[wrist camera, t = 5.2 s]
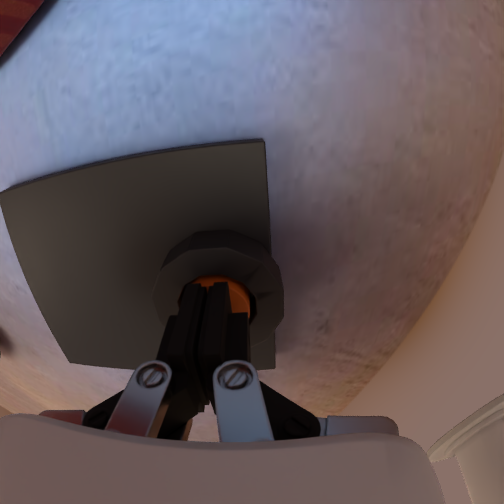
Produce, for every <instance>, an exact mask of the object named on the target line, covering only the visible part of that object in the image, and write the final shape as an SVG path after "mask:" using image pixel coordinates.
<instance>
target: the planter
mask: <svg viewBox="0 0 504 504" xmlns="http://www.w3.org/2000/svg"><path fill="white" fill-rule="evenodd" d="M44 1H45V0H0V57H1V55H2V54H3V53H4V51H5V50H6V49H7V48H8V46H9V45H10V44H11V43H12V41H13V40H14V39H15V38H16V37H17V35H18V34H19V33H20V32H21V30H22V29H23V28H24V26H25V25H26V24H27V22H28V21H29V20H30V19H31V17H32V16H33V15H34V14H35V13H36V11H37V10H38V9H39V8H40V6H41V5H42V4H43V2H44Z"/></svg>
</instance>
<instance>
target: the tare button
mask: <svg viewBox="0 0 504 504" xmlns="http://www.w3.org/2000/svg"><path fill="white" fill-rule="evenodd" d="M214 282H228V286H229V293H230V300H231V307H232V313H238V312H248V318H249V316H250V291H249V289H248V288H247V287H246V286H245V285H244V283H242V282H240V281H237V280H235V279H232V278H230V277H227V276H225V275H206V276H199V277H197V278H196V279H194V280H193V281H191V283H190V284H193V283H201V286H206V289H207V294H208V289H209V286H213V284H214Z"/></svg>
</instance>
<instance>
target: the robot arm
mask: <svg viewBox="0 0 504 504" xmlns="http://www.w3.org/2000/svg"><path fill="white" fill-rule="evenodd" d="M210 402H211V404H212V407H213V410H214V413H215V415H216V416H217V425H218V433H219V441H220V442H195V441H187V440H188V436H189V433H190V430H191V427H192V422H193V419H192V418H193V417H194V416H195V415H197V414H198V412H204V408H205V405H209V403H210ZM444 454H445V457H446V458H450V457H454V456H456V459H457V461H458V464H459V467H460V469H461V472H462V474H463V478H464V480H465V483H466V486H467V489H468V492H469V495H470V499H471V502H472V504H504V409H501V410H499V411H497V412H495V413H493V414H492V415H490V416H488V417H487V418H485V419H484V420H482V421H481V422H479V423H478V424H476V425H475V426H474V427H472V428H471V429H469V430H468V431H467V432H465V433H464V434H463V435H461V436H460V437H459V438H458V439H456V440H455V441H454V442H453V443H452V444H451V445H450V446H448V448H447V449H446V450H445V452H444ZM0 504H445V501H444V497H443V493H442V490H441V487H440V484H439V481H438V478H437V476H436V473H435V471H434V469H433V466H432V464H431V462H430V460H429V458H428V456H427V455H426V453H425V452H424V450H423V449H422V448H421V447H420V446H419V445H418V444H417V443H416V442H414V441H413V440H411V439H408V438H405V437H401V436H399V433H398V427H397V424H396V423H395V422H394V421H393V420H392V419H390V418H388V417H384V416H327V418H319V417H315V416H314V415H313V414H312V413H310V412H308V411H307V410H305V409H303V408H302V407H300V406H299V405H297V404H295V403H294V402H292V401H290V400H289V399H287V398H286V397H284V396H282V395H281V394H279V393H278V392H276V391H275V390H273V389H272V388H270V387H269V386H267V385H266V384H264V383H263V382H261V381H260V380H259V378H258V374H257V371H256V369H255V367H254V366H253V365H252V364H251V342H250V327H249V318H248V312H238V313H232V307H231V300H230V293H229V286H228V282H214V284H213V286H209V289H208V294H207V289H206V286H201V283H193V284H187V285H186V288H185V291H184V295H183V298H182V301H181V305H180V308H179V311H178V315H170V316H169V318H168V321H167V324H166V327H165V330H164V334H163V337H162V340H161V343H160V346H159V350H158V353H157V356H156V360H151V361H147V362H144V363H142V364H141V365H139V366H138V367H137V368H136V369H135V371H134V372H133V374H132V376H131V378H130V380H129V382H128V384H127V386H126V388H125V389H124V390H122V391H120V392H119V393H117V394H115V395H114V396H112V397H110V398H109V399H107V400H105V401H103V402H102V403H100V404H98V405H96V406H95V407H93V408H92V409H90V410H89V411H88V412H85V411H84V410H46V411H43V412H41V413H40V414H39V415H35V414H22V413H19V414H11V415H6V416H4V417H2V418H0Z"/></svg>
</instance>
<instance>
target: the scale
mask: <svg viewBox="0 0 504 504" xmlns="http://www.w3.org/2000/svg"><path fill="white" fill-rule="evenodd" d="M0 205H1V209H2V212H3V216H4V219H5V223H6V226H7V229H8V232H9V235H10V238H11V241H12V244H13V247H14V250H15V253H16V255H17V258H18V261H19V263H20V266H21V268H22V271H23V273H24V276H25V278H26V281H27V283H28V285H29V287H30V290H31V292H32V294H33V296H34V298H35V301H36V303H37V305H38V307H39V309H40V311H41V313H42V315H43V317H44V319H45V321H46V323H47V324H48V326H49V328H50V330H51V332H52V334H53V335H54V337H55V339H56V341H57V343H58V344H59V346H60V348H61V349H62V351H63V353H64V354H65V356H66V358H67V359H68V361H69V362H70V363H75V364H82V365H90V366H99V367H109V368H120V369H132V370H135V369H136V368H137V367H138V366H139V365H141V364H142V363H144V362H147V361H151V360H156V356H157V353H158V350H159V346H160V343H161V340H162V337H163V334H164V330H165V327H166V324H167V321H168V318H169V316H170V315H178V311H179V308H180V305H181V301H182V298H183V295H184V291H185V288H186V285H187V284H190V283H191V281H193V280H194V279H196V278H197V277H199V276H206V275H225V276H227V277H230V278H232V279H235V280H237V281H240V282H242V283H244V285H245V286H246V287H247V288H248V289H249V291H250V316H249V327H250V342H251V364H252V365H253V366H254V367H255V369H256V370H266V369H275V368H276V367H275V334H274V330H275V329H276V327H277V326H278V324H279V323H280V322H281V320H282V319H283V316H284V290H283V284H282V279H281V273H280V269H279V266H278V265H277V264H276V262H275V261H274V259H273V258H272V257H271V237H270V217H269V199H268V182H267V165H266V149H265V141H264V140H263V139H250V140H237V141H226V142H216V143H207V144H199V145H191V146H183V147H176V148H169V149H163V150H157V151H151V152H145V153H140V154H134V155H129V156H124V157H119V158H114V159H110V160H105V161H101V162H96V163H92V164H88V165H84V166H80V167H76V168H72V169H68V170H64V171H61V172H57V173H54V174H50V175H47V176H43V177H40V178H37V179H34V180H31V181H27V182H24V183H21V184H18V185H15V186H13V187H10V188H8V189H6V190H4V191H2V192H0Z"/></svg>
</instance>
